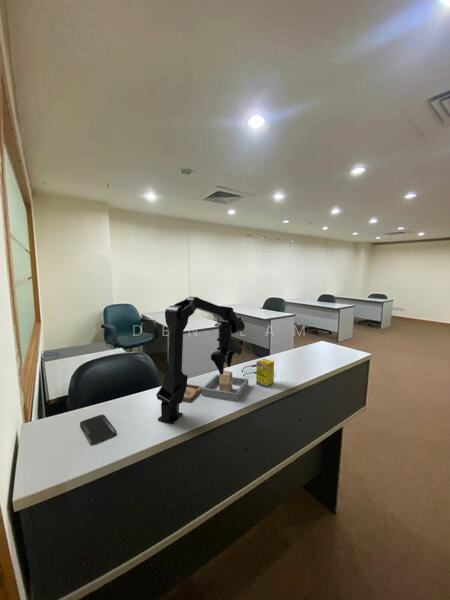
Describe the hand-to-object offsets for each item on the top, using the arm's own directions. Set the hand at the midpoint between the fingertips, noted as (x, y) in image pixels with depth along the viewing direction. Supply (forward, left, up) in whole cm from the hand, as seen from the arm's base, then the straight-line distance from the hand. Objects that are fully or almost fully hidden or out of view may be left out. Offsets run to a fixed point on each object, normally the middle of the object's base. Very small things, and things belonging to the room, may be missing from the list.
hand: (225, 370), depth 109 cm
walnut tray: (-9, +16, -9) cm, 20 cm away
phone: (-41, +30, -10) cm, 52 cm away
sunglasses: (+23, -7, -10) cm, 26 cm away
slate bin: (0, 0, -9) cm, 9 cm away
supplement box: (+12, -15, -9) cm, 21 cm away
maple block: (0, 0, -9) cm, 9 cm away
